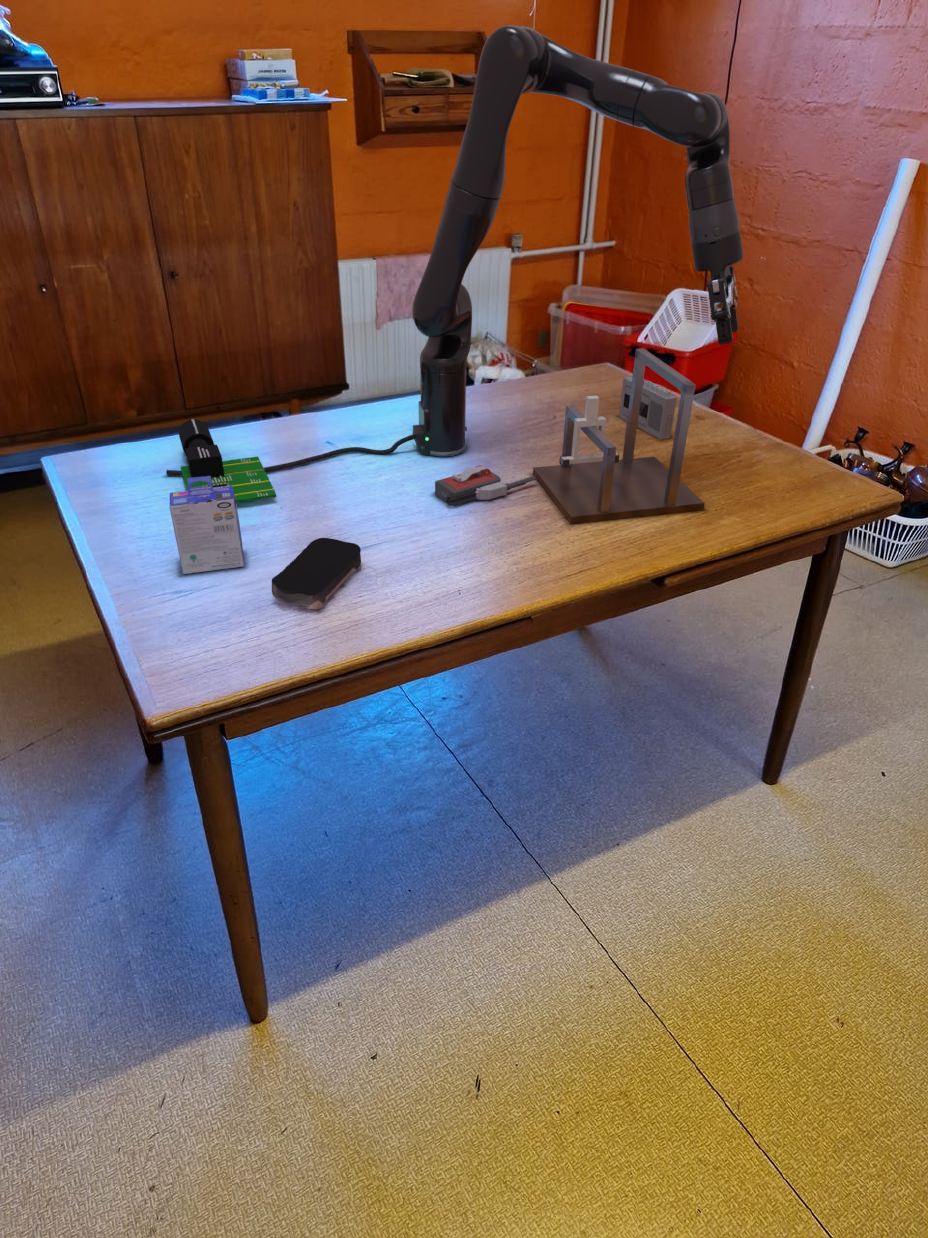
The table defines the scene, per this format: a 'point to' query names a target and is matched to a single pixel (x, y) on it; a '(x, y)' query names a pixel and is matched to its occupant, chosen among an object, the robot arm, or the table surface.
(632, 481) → the rack
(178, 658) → the table surface
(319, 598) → the black sponge
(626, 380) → the cassette player
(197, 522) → the ink cartridge box
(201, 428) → the electronic board model
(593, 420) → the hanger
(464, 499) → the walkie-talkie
